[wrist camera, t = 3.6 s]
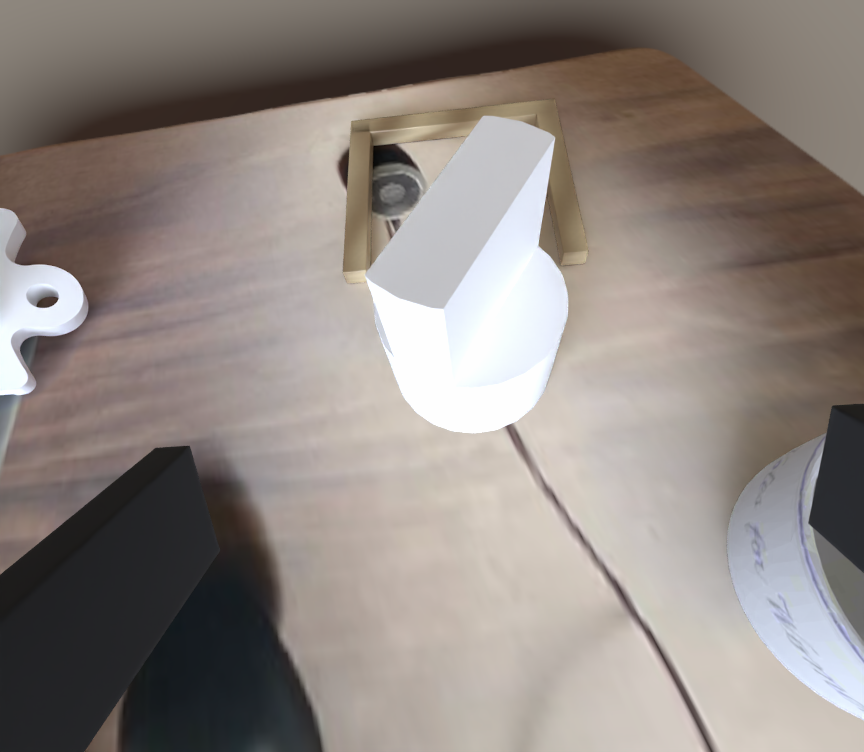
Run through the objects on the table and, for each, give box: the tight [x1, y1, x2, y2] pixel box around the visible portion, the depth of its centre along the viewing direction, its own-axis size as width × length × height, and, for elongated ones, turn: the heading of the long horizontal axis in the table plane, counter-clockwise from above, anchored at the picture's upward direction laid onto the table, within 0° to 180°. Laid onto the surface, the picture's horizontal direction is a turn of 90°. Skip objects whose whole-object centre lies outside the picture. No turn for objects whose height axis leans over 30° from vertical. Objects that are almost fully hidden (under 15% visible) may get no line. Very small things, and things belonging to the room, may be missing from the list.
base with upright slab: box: [365, 116, 568, 433], centre depth 22 cm, size 9×9×12 cm
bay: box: [343, 99, 589, 284], centre depth 33 cm, size 15×14×1 cm
